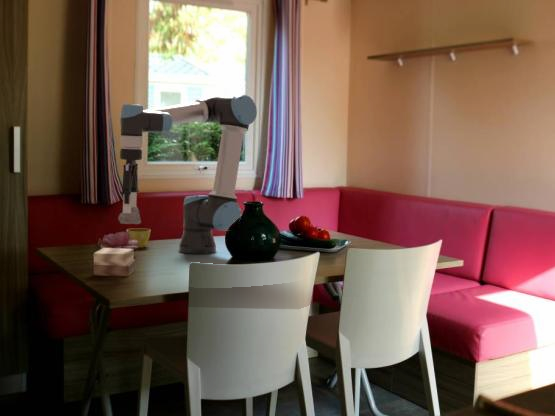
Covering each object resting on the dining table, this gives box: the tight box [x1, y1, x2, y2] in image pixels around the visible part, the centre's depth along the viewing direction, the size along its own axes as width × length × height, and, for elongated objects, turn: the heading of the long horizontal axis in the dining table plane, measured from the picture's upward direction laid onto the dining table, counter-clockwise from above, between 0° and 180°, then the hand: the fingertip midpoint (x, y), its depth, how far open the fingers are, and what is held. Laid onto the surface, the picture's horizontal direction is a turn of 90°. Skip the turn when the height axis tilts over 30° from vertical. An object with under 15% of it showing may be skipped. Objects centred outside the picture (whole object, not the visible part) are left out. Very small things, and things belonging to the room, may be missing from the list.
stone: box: [117, 206, 142, 225], centre depth 258 cm, size 8×10×6 cm
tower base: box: [93, 259, 136, 277], centre depth 254 cm, size 12×12×4 cm
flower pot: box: [125, 227, 151, 249], centre depth 306 cm, size 10×10×7 cm
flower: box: [97, 231, 138, 251], centre depth 283 cm, size 15×15×10 cm
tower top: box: [93, 248, 135, 266], centre depth 254 cm, size 11×11×4 cm
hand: (129, 211), depth 258 cm, fingers closed on stone, 9 cm apart
